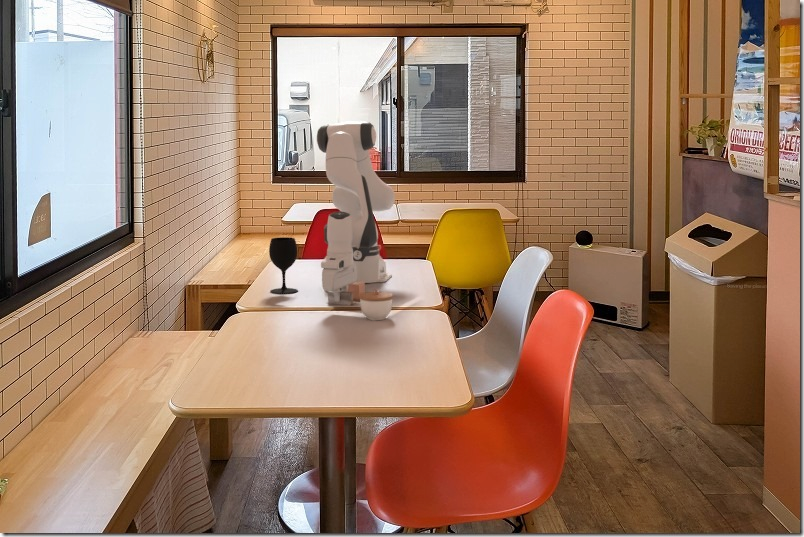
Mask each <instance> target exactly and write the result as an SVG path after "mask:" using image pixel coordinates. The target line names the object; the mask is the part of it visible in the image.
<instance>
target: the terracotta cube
mask: <svg viewBox="0 0 804 537" xmlns="http://www.w3.org/2000/svg"><path fill="white" fill-rule="evenodd" d="M347 292H353V298H357V299H360V294H362V293H366V283H365V282H355V283H353V284H350V285H348V290H347Z"/></svg>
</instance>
